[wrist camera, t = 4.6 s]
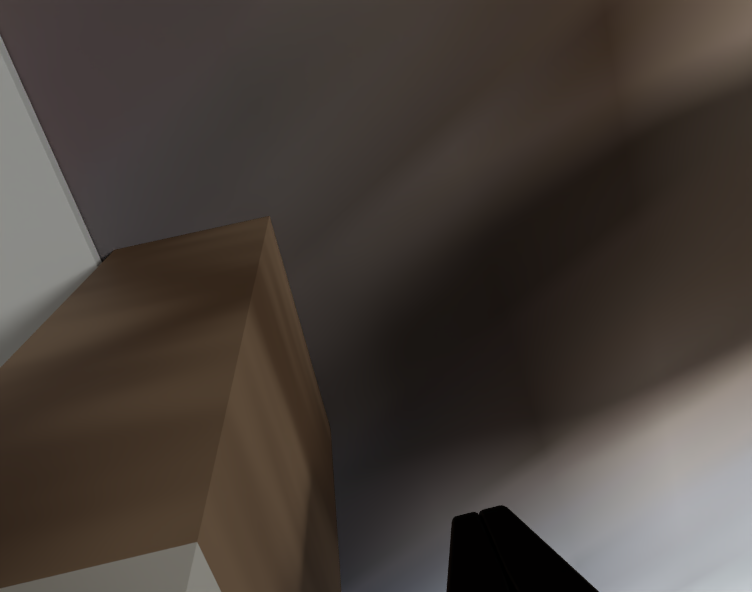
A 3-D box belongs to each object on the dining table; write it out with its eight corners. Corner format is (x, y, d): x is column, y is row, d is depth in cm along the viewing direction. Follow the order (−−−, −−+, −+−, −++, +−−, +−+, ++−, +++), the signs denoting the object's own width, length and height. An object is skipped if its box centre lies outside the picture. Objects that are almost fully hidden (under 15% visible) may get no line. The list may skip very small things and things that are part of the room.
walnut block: (269, 216, 14) (126, 865, 3) (330, 428, 17) (377, 1141, 6) (114, 249, 13) (-682, 1071, 3) (204, 458, 16) (8, 1240, 6)
